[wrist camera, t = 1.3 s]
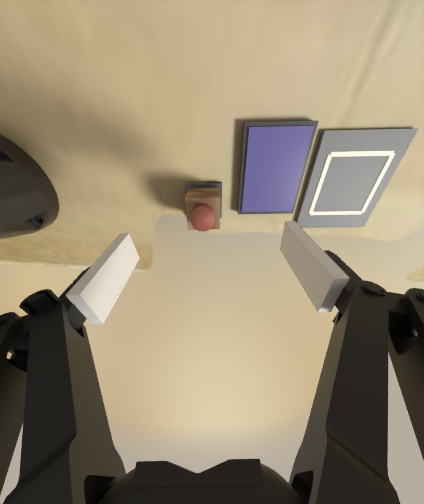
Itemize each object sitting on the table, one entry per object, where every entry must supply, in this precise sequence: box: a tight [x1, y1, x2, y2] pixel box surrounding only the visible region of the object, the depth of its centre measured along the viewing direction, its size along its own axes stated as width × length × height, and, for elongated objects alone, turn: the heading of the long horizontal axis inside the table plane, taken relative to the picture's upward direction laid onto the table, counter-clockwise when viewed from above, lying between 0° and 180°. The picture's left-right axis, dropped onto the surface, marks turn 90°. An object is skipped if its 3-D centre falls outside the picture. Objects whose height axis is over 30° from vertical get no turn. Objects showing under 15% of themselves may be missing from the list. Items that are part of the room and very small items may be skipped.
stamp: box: [185, 182, 222, 231], centre depth 24 cm, size 6×6×8 cm
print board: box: [296, 129, 418, 228], centre depth 26 cm, size 12×14×1 cm
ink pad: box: [237, 121, 318, 214], centre depth 24 cm, size 9×12×2 cm
